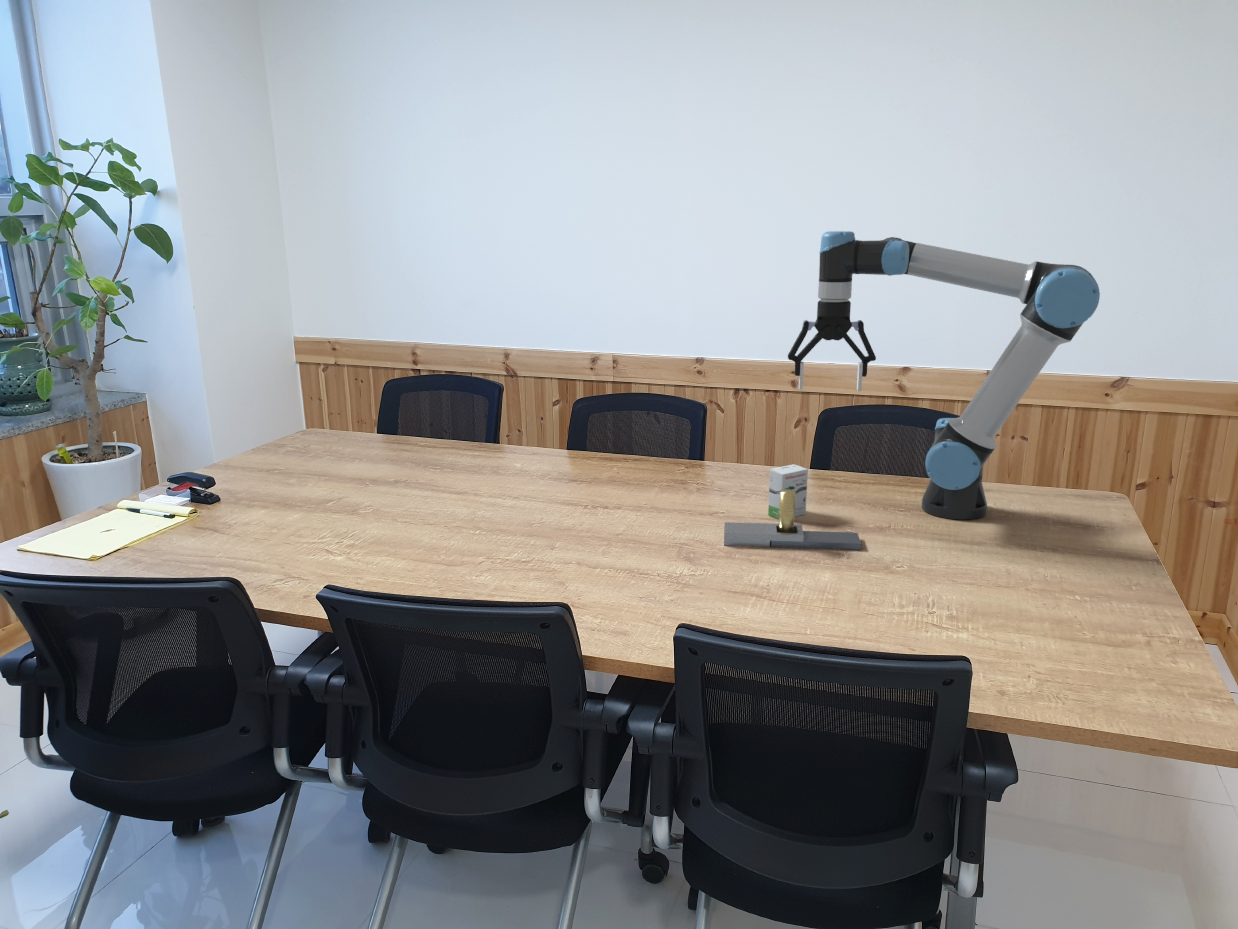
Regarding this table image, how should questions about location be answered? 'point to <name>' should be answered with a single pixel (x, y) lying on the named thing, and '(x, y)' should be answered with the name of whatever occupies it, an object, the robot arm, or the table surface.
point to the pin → (787, 511)
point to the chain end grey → (758, 534)
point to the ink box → (792, 480)
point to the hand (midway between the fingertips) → (829, 389)
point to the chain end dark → (824, 541)
